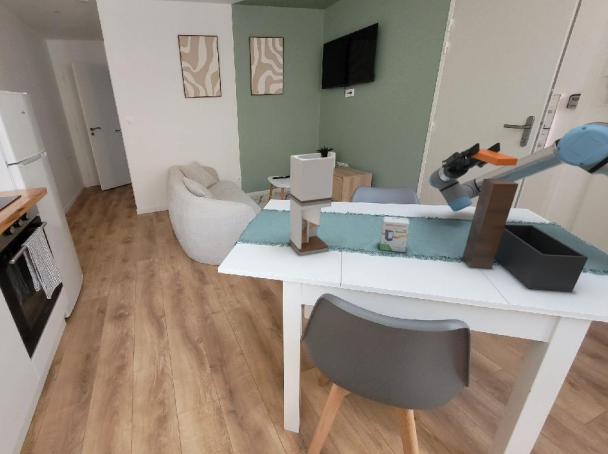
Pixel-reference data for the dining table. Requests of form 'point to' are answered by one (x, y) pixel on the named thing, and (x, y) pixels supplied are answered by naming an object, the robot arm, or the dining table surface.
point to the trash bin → (539, 259)
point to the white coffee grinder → (309, 200)
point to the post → (489, 222)
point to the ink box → (394, 234)
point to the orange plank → (495, 158)
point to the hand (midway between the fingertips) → (488, 147)
